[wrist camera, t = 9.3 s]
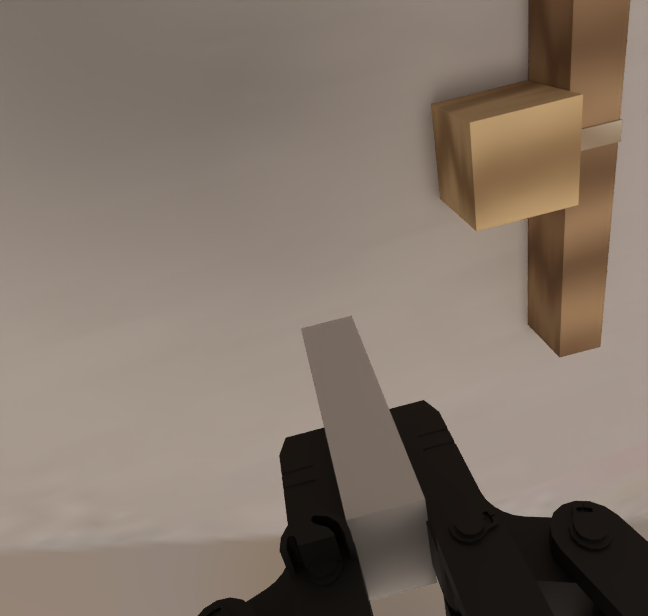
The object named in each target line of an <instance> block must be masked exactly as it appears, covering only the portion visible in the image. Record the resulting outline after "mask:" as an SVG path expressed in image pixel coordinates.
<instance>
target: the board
mask: <svg viewBox="0 0 648 616" xmlns="http://www.w3.org/2000/svg"><path fill="white" fill-rule="evenodd" d="M629 10H630V0H529V81H531V82H535V83H539V84H543V85H547V86H551V87H555V88H559V89H564V90H568V91H572V92H576V93H580V94H583V108H582V132H581V156H580V179H579V203H578V205H576V206H572V207H569V208H565V209H561V210H557V211H553V212H549V213H545V214H541V215H538V216H534V217H530V218H528V325H529V326H530V327H531V328H532V329H533V330H534V331H535V332H536V333H537V334H538V335H539V336H540V338H541V339H542V340H543V341H544V342H545V343H546V344H547V345H548V346H549V347H550V348H551V349H552V350H553V351H554V352H555V353H556V354H557V355H558V356H559V357H563V356H567V355H571V354H574V353H578V352H582V351H586V350H590V349H594V348H597V347H600V344H601V333H602V321H603V310H604V298H605V287H606V275H607V264H608V252H609V241H610V229H611V218H612V206H613V194H614V183H615V171H616V160H617V148H618V142H620V141H621V132H622V121H623V120H622V119H620V114H621V102H622V91H623V79H624V67H625V56H626V44H627V33H628V21H629Z"/></svg>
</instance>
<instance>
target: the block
mask: <svg viewBox="0 0 648 616" xmlns="http://www.w3.org/2000/svg"><path fill="white" fill-rule="evenodd" d="M431 108H432V118H433V129H434V139H435V149H436V160H437V170H438V180H439V191H440V199H441V200H442V201H443V202H444V203H446V204H447V205H448V206H449V207H450V208H451V209H452V210H453V211H454V212H456V213H457V214H458V215H459V216H460V217H461V218H462V219H463V220H465V221H466V222H467V223H468V224H469V225H470V226H471V227H472V228H473V229H475V230H476V231H480V230H483V229H487V228H491V227H495V226H499V225H503V224H507V223H511V222H514V221H518V220H522V219H526V218H530V217H534V216H538V215H541V214H545V213H549V212H553V211H557V210H561V209H565V208H569V207H572V206H576V205H578V203H579V179H580V156H581V132H582V108H583V94H580V93H576V92H572V91H568V90H564V89H559V88H555V87H551V86H547V85H543V84H539V83H535V82H531V81H523V82H519V83H515V84H511V85H507V86H503V87H499V88H495V89H491V90H487V91H483V92H479V93H475V94H471V95H467V96H463V97H459V98H455V99H451V100H447V101H443V102H439V103H435V104H431Z"/></svg>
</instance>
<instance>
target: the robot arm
mask: <svg viewBox="0 0 648 616" xmlns="http://www.w3.org/2000/svg"><path fill="white" fill-rule="evenodd" d="M301 330H302V335H303V339H304V343H305V347H306V352H307V356H308V360H309V364H310V369H311V373H312V377H313V381H314V386H315V390H316V394H317V398H318V403H319V407H320V411H321V415H322V420H323V424H324V428H321V429H317V430H313V431H310V432H306V433H302V434H298V435H294V436H291V437H287V438H285V441H284V444H283V447H282V450H281V452H280V455H279V456H280V464H281V472H282V481H283V488H284V497H285V505H286V513H287V521H288V526H287V527H286V529H285V531H284V533H283V535H282V537H281V542H280V553H281V555H282V558H283V560H284V563H285V566H286V568H285V570H284V572H283V574H282V575H281V576H280V577H279V578H278V579H277V581H276V582H275V583H273V584H272V585H271V586H270V587H268V588H267V589H266V590H264V591H263V592H261V593H260V594H258V595H256V596H255V597H253V598H252V599H250V600H249V601H247V602H245V601H244V600H241V599H236V598H226V599H222V600H217V601H216V602H214V603H212V604H211V605H209V606H207V607H206V608H204V609H203V610H202V612H201V613H200V614H199V615H198V616H373V612H372V609H371V604H370V601H372V600H375V599H379V598H382V597H386V596H390V595H393V594H397V593H400V592H404V591H408V590H411V589H415V588H419V587H422V586H426V585H429V584H433V583H436V582H437V580H436V576H437V579H438V581H439V584H440V587H441V589H442V592H443V595H444V602H445V609H446V616H648V541H646V540H645V539H644V538H643V537H642V536H641V535H640V534H638V533H637V532H636V531H635V530H634V529H633V528H632V527H631V526H630V525H628V524H627V523H626V522H625V521H624V520H623V519H622V518H621V517H620V516H618V515H617V514H616V513H614V512H613V511H611V510H610V509H608V508H607V507H605V506H602V505H599V504H596V503H593V502H590V501H573V502H570V503H567V504H563V505H562V506H560V507H559V508H558V509H557V510H556V511H555V512H554V513H553V516H552V518H549V517H524V516H516V515H512V514H509V513H506V512H503V511H501V510H499V509H498V508H496V507H494V506H493V505H492V504H490V503H489V502H488V501H487V500H486V499H485V498H484V496H483V495H482V493H481V492H480V490H479V488H478V486H477V484H476V482H475V480H474V478H473V476H472V474H471V473H470V471H469V469H468V467H467V465H466V463H465V461H464V459H463V457H462V455H461V453H460V451H459V449H458V447H457V445H456V444H455V443H454V440H453V438H452V436H451V434H450V432H449V431H448V429H447V426H446V424H445V422H444V420H443V418H442V417H441V415H440V413H439V411H437V410H436V409H435V408H433V407H432V406H431V405H430V404H428V403H427V402H426V401H424V400H422V401H418V402H415V403H411V404H407V405H403V406H399V407H396V408H392V409H389V408H388V405H387V403H386V400H385V398H384V395H383V393H382V390H381V388H380V385H379V383H378V380H377V378H376V375H375V373H374V370H373V368H372V365H371V363H370V360H369V358H368V355H367V353H366V350H365V348H364V345H363V343H362V340H361V338H360V335H359V333H358V331H357V328H356V326H355V323H354V321H353V318H352V316H349V317H345V318H341V319H337V320H333V321H329V322H325V323H321V324H317V325H313V326H310V327H306V328H302V329H301Z"/></svg>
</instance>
